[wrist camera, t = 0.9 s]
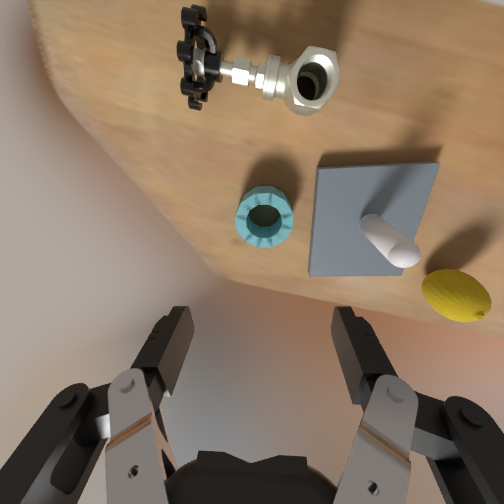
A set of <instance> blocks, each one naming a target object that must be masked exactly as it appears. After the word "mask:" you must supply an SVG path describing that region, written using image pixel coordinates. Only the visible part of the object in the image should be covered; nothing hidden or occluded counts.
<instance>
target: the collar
mask: <svg viewBox="0 0 504 504" xmlns="http://www.w3.org/2000/svg"><path fill="white" fill-rule="evenodd" d="M257 205H270V206H272V207H274V208H276V209H277V210H278V211H279V213H280V217H279V218H278V220H277V222H276V223H274V224H272V225H271V226H265V227H261V226H259V225H257V224H254V223H253V222H252V220H251V219H250V217H249V211H250V210H251V209H253V208H254V207H256V206H257ZM235 221H236V230H237V231H238V233H239V234H240V236H241V237H242V238H243V240H244V241H245V242H247V243H249V244H251V245H253V246H256V247H273V246H275V245H277V244H279V243H281V242H283V241H285V239H286V238H287V236H288V235H289V233H290V232H291V230H292V229H293V211H292V208H291V204H290V203H289V201H288V199H287V198H286V196H285V194H284V192H282V191H280V190H278V189H276V188H275V187H273V186H271V185H270V186H256V187H254V188H253V189H251V190H250V191H248V192H247V193H245V194H244V196H243V198H242V200H241V202H240V204H239V206H238V209H237V211H236V214H235Z"/></svg>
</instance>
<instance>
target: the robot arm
mask: <svg viewBox="0 0 504 504" xmlns="http://www.w3.org/2000/svg"><path fill="white" fill-rule="evenodd" d="M193 334H194V324H193V320H192V317H191V313H190V310H189V307H188V306H174V307H173V308H172V310H171V312H170V314H169V315H168V316H163V317H162V318H161V319H160V320H159V321H158V322H157V323H156V324H155V326H154V328H153V330H152V333H150V335H149V337H148V340H146V342H145V344H144V346H143V347H142V349H141V351H140V352H139V354H138V356H137V358H136V359H135V361H134V363H133V364H132V366H131V368H130V369H128V370H126V371H124V372H122V373H121V374H119V375H118V376H117V377H116V378H115V379H114V380H113V381H112V383H109V384H105V385H102V386H98V387H95V388H92V389H89V388H88V387H87V385H86V384H83V383H77V384H73V385H71V386H69V387H67V388H65V389H64V390H62V391H61V392H60V393H59V394H57V395H56V397H54V399H53V400H52V401H51V403H50V404H49V405H48V406H47V408H46V409H45V411H44V412H43V413H42V415H41V416H40V417H39V419H38V420H37V421H36V423H35V424H34V425H33V427H32V428H31V429H30V431H29V432H28V433H27V435H26V436H25V438H24V439H23V440H22V441H21V443H20V444H19V445H18V447H17V448H16V450H15V451H14V452H13V454H12V455H11V456H10V458H9V459H8V460H7V462H6V463H5V464H4V466H3V467H2V468H1V470H0V504H77V503H78V500H79V498H80V496H81V494H82V492H83V490H84V488H85V486H86V483H87V481H88V479H89V477H90V475H91V473H92V471H93V468H94V466H95V464H96V462H97V460H98V458H99V456H100V454H101V451H102V449H103V447H104V445H105V443H106V441H107V439H108V437H110V436H111V440H110V443H108V444H107V446H106V449H105V466H106V489H107V504H405V503H406V497H407V490H408V484H409V479H410V472H411V462H410V461H409V453H410V450H412V451H415V452H417V453H420V454H422V455H424V456H426V459H427V461H428V463H429V465H430V467H431V470H432V472H433V474H434V477H435V479H436V481H437V484H438V486H439V488H440V491H441V493H442V495H443V498H444V500H445V502H446V504H504V433H503V432H502V431H501V429H500V428H499V427H498V425H497V424H496V423H495V421H494V420H493V418H492V417H491V416H490V415H489V414H488V413H487V412H486V411H485V410H484V409H483V408H481V407H480V406H479V405H477V404H476V403H474V402H472V401H470V400H468V399H466V398H463V397H459V396H452V397H449V398H447V400H446V401H445V402H444V401H441V400H438V399H435V398H432V397H429V396H426V395H423V394H420V393H418V392H416V391H414V390H413V389H412V388H411V387H410V386H409V385H408V384H407V383H406V382H405V381H403V380H402V379H400V378H399V377H398V375H397V374H396V372H395V370H394V368H393V366H392V365H391V363H390V361H389V359H388V357H387V355H386V353H385V351H384V349H383V348H382V346H381V344H380V343H379V340H378V338H377V336H376V335H375V332H374V330H373V328H372V327H371V325H370V324H369V323H368V322H367V321H366V320H365V319H364V318H363V317H356V316H355V314H354V312H353V310H352V308H351V307H350V306H344V307H343V306H337V307H335V308H334V313H333V319H332V324H331V334H332V338H333V342H334V345H335V348H336V351H337V355H338V358H339V361H340V365H341V368H342V371H343V374H344V377H345V380H346V384H347V387H348V390H349V394H350V397H351V400H352V403H353V404H359V405H361V406H362V409H363V412H364V414H363V417H362V419H361V422H360V425H359V428H358V431H357V433H356V436H355V440H354V442H353V444H352V447H351V450H350V453H349V455H348V458H347V461H346V464H345V466H344V469H343V472H342V474H341V477H340V480H339V483H338V485H337V487H336V486H335V485H334V484H333V483H332V482H331V481H330V480H329V479H328V478H327V477H326V476H325V475H323V474H322V473H321V472H319V471H318V470H316V469H314V468H313V467H311V466H308V465H307V458H306V457H301V456H284V455H278V456H275V457H271V458H268V459H264V460H261V461H258V462H254V463H249V462H246V461H244V460H241V459H239V458H237V457H234V456H232V455H230V454H227V453H225V452H214V451H198V455H197V459H196V460H193V461H191V462H189V463H187V464H185V465H184V466H182V467H180V468H179V469H178V465H177V462H176V459H175V456H174V454H173V451H172V448H171V445H170V442H169V437H168V434H167V430H166V426H165V422H164V418H163V414H162V410H161V407H160V403H161V400H162V398H163V396H165V397H171V396H172V393H173V390H174V387H175V385H176V382H177V379H178V376H179V373H180V371H181V368H182V365H183V362H184V359H185V357H186V354H187V351H188V349H189V346H190V343H191V340H192V337H193Z"/></svg>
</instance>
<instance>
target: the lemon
mask: <svg viewBox="0 0 504 504" xmlns="http://www.w3.org/2000/svg"><path fill="white" fill-rule="evenodd" d="M422 292H423V295H424V298H425V299H426V301H427V302H428V303H429V304H430V306H431V307H432V308H433V309H435V310H436V311H437V312H439V313H440V314H442V315H443V316H445V317H447V318H449V319H452V320H455V321H460V322H472V321H477V320H481V319H483V317H485V316H486V315H487V314H488V312H489V311H490V308H491V298H490V296H489V293H488V292H487V290H486V289H485V288H484V287H483V286H482V285H481V284H480V283H479V282H478V281H477V280H476V279H475V278H473V277H472V276H470V275H468V274H466V273H464V272H461V271H459V270H454V269H440V270H436V271H433V272H431V273H430V274H428V275H427V276H426V277H425V279H424V280H423V283H422Z"/></svg>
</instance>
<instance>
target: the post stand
mask: <svg viewBox="0 0 504 504" xmlns="http://www.w3.org/2000/svg"><path fill="white" fill-rule="evenodd" d="M439 166H440V163H438V162H433V161H424V162H405V163H385V164H366V165H347V166H328V167H317V169H316V181H315V193H314V205H313V217H312V229H311V240H310V252H309V264H308V272H309V276H402V273H403V270H404V268H408V267H411V266H413V265H415V264H416V263H417V262H418V261H419V259H420V256H421V252H420V249H419V247H418V246H417V245H416V244H415V243H414V242H413V241H414V238H415V235H416V232H417V230H418V227H419V224H420V221H421V218H422V215H423V212H424V209H425V206H426V204H427V201H428V198H429V195H430V192H431V189H432V186H433V183H434V181H435V178H436V175H437V172H438V169H439Z"/></svg>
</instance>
